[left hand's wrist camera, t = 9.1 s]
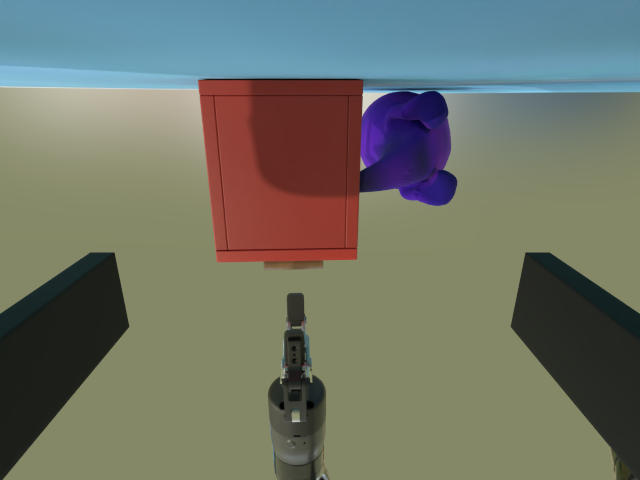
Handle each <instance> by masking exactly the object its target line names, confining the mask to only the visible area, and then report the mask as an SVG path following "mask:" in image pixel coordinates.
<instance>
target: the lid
mask: <svg viewBox="0 0 640 480" xmlns="http://www.w3.org/2000/svg"><path fill="white" fill-rule="evenodd" d="M216 259H217V262H257V261H264V269H265V270H289V269H323V260H356V259H357V248H346V247H345V248H302V249H246V250H216Z"/></svg>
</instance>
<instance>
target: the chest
mask: <svg viewBox="0 0 640 480" xmlns="http://www.w3.org/2000/svg"><path fill="white" fill-rule="evenodd" d="M198 85H199V94H200V104H201V113H202V123H203V133H204V142H205V152H206V162H207V172H208V181H209V191H210V201H211V210H212V220H213V230H214V239H215V249H216V250H246V249H302V248H345V247H346V248H357V241H358V213H359V185H360V156H361V128H362V99H363V96H362V94H363V80H198Z"/></svg>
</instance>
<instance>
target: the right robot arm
mask: <svg viewBox="0 0 640 480" xmlns="http://www.w3.org/2000/svg"><path fill="white" fill-rule="evenodd" d="M305 323H306V317H305V314H304V295H303V294H302V293H290V294H288V295H287V320H286V324H287V331H285V333H284V338H283V358H282V360H281V374H280V377H279V378H277V379H276V380H275V381H274V382H273V383H272V384H271V386H270V388H269V391H268V405H269V421H270V435H271V440H272V444H273V457H274V469H275V474H276V477H277V479H278V480H330V477H329V474H328V471H327V468H326V466H325V463H324V439H325V432H326V389H325V386H324V384H323V383H322V381H321V380H320V379H319V378H318V377H316V376H314V375H312V373H311V372H310V371H312V361H311V358H310V355H309V336H308V335H306V334H305ZM292 326H302V328H301V329H292ZM305 353H306V360H305ZM609 448H610V453H611V458H612V464H613V469H614V475H615V480H637V479H636V477H635V476H634V475H633V474H632V473H631V471H630V470H629V469H628V468H627V466H626V465H625V464H624V463H623V462H622V460H621V459H620V458H619V457H618V456H617V454H616V453H615V452H614V451H613V450H612V448H611V447H610V446H609Z"/></svg>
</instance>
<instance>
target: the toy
mask: <svg viewBox="0 0 640 480" xmlns="http://www.w3.org/2000/svg"><path fill="white" fill-rule="evenodd" d="M447 116H448V108H447V104H446V101H445V99H444V97H443V96H442V95H441V94H440V93H438V92H436V91H428V92H424V93H422V94H417V93H413V92H408V91H401V92H393V93H389V94H386V95H384V96H382V97H380V98H378V99H377V100H376V101H374V102H373V103H372V104H371V105H370V106H369V107H368V108H367V110H366V111H365V113H364V114H363V116H362V128H361V158H362V160H363V162H364V164H365V166H366V167H367V168H365V169H364V170H362V171H360V185H359V192H373V191H382V190H389V189H394V188H396V189H399V191H400V194H401V196H402V197H403V198H405V199H407V200H418V201H420V202H423V203H426V204H429V205H435V206H440V205H445V204H447V203H448V202H450V200H451V199H452V198H453V196H454V194H455V191H456V187H457V179H456V177H455V176H454V175H453V174H451V173H449V172H448V171H445V170H443V169H444V167H445V165H446V163H447V160H448V157H449V155H450V151H451V137H450V129H449V124H448V119H447Z"/></svg>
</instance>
